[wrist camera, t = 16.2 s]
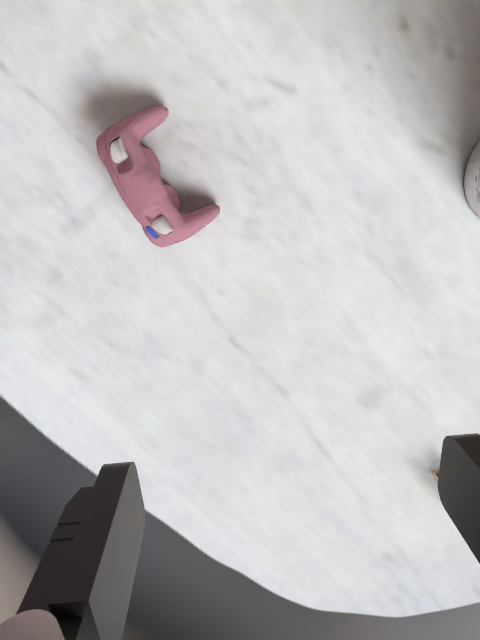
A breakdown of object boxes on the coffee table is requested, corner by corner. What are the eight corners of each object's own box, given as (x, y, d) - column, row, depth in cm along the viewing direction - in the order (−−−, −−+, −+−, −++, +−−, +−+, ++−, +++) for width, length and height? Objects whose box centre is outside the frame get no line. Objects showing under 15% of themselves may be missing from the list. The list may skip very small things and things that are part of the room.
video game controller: (128, 126, 34) (71, 142, 29) (167, 97, 32) (113, 109, 26) (188, 231, 38) (147, 264, 32) (228, 213, 35) (191, 244, 30)
